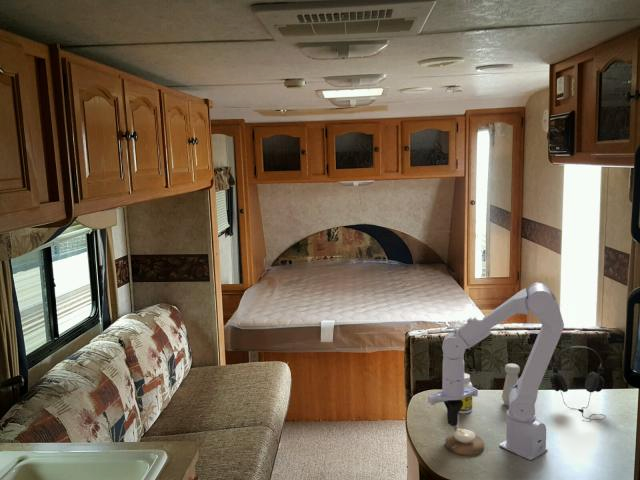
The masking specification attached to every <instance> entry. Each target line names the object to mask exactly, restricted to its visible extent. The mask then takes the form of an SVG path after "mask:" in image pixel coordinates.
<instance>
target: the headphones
mask: <svg viewBox="0 0 640 480" xmlns="http://www.w3.org/2000/svg"><path fill="white" fill-rule="evenodd" d="M573 349H574V350H575V349H585V350H589V351H592V352H594V353H595V354H596V355H597V356H598V358H599V360H600V361H599V363H600V364H599V366H598V367H597V372H595V371H591V372H589V373H588V374H587V376H586V378H585V381H584V388H585V390H586V392H589V393H590V394H589V398H588V401H590V398H591V395H592V393H595V392H596V393H599V392H601V391H602V390H603V388H604V386H605V379H604V377H603V376H601V375H602V374H604V371H605V368H604V367H603V359H602V357H601V356H600V355H599V353H598V352H597V351H595V349H593V348H591V347H589V346H585V345H572V346H571V345H570V346H567V347H565V348H563V349H562V350H560V351H559V352H558V353H557V355H556V356H555V359H554V358H553V359H552V363H553V366H552V367H551V369H552V373H553V374H552V375H550V376H549V381H550V383H551V386H552V388H553V390H554V391H555V392H559V391H560V393H561V396H562V401H563V403H564V405H565V406H566V407H567V408H569V409H571V410H572V409H574V410H576V408H573V407H569V406H567V404H566V403H565V401H564V396H563V393H566V392H568V390H569V388H568V384H567V382H566V379H565V377H564V375H563V373H562V372H560V371H559V370H558V367H557V366H556V364H557V360H558V358H559V357H560V356H561V354H563V353H564V352H567V351H569V350H573ZM600 374H601V375H600ZM562 392H563V393H562ZM589 405H590V402H588V404H587V406H586V407H584V406H582V407H581V409H579V408H577V410H578V411H580V412H581V413H582V417H583V418H585V416H584V415H583V414H584V409H587V408H588V407H589ZM583 408H584V409H583ZM595 415H596V413H593V414H591V415H589V417H586V419H587V422H591V421H592V420H595V421H597V420H599V421H602V420H603V418H601V419H600V418H599V419H596V418H591V417H592V416H595ZM600 415H601V416H604V417H606V415H605V414H602V413H600ZM581 421H582V422H585V420H583V419H582V420H581Z"/></svg>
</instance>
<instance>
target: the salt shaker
mask: <svg viewBox="0 0 640 480" xmlns="http://www.w3.org/2000/svg"><path fill="white" fill-rule="evenodd" d="M520 369H521V367H520V366H519V365H518V364H516V363H513V362H512V363H507V364H505V366H504V371H505V373H506V376H505V380H504V385H503V389H502V393H501V398H502V400H503V403H504V405H505V406H506V407H507V408H509V397H508V393H509V390H510V389H511V388H512V387H513V386H514V385H515V384H516V383H517V380H518V379H519V374H520V371H521V370H520Z"/></svg>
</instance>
